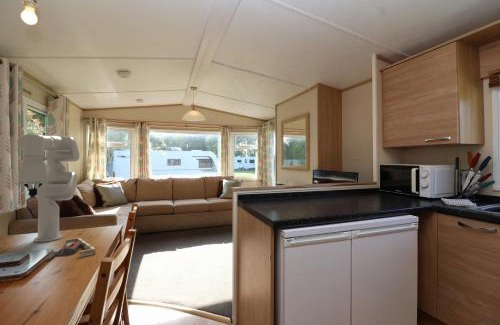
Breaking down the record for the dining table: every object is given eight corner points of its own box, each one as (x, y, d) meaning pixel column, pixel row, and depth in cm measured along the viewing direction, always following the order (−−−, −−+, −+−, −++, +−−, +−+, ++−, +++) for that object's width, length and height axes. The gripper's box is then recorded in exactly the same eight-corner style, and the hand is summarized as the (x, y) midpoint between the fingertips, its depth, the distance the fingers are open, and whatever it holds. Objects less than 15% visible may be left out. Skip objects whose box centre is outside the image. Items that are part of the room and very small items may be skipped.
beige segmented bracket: (65, 244, 131) (65, 239, 131) (79, 242, 136) (79, 237, 136) (80, 257, 113) (80, 251, 113) (95, 253, 118) (95, 248, 118)
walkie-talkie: (63, 248, 127) (45, 262, 108) (63, 239, 127) (45, 252, 108) (83, 246, 129) (68, 260, 110) (83, 238, 130) (68, 250, 111)
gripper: (51, 159, 128) (50, 195, 128) (11, 159, 117) (10, 197, 116) (54, 159, 123) (53, 196, 123) (13, 158, 112) (12, 199, 111)
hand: (32, 196), depth 120 cm, fingers closed
